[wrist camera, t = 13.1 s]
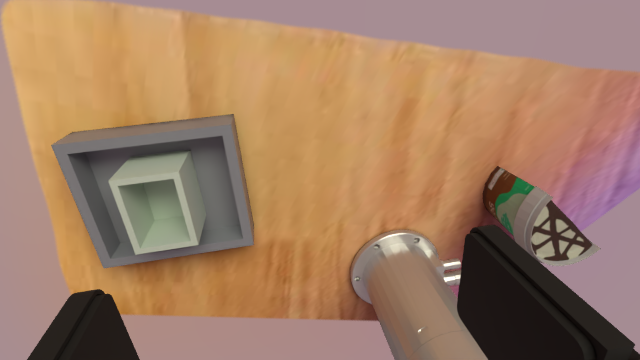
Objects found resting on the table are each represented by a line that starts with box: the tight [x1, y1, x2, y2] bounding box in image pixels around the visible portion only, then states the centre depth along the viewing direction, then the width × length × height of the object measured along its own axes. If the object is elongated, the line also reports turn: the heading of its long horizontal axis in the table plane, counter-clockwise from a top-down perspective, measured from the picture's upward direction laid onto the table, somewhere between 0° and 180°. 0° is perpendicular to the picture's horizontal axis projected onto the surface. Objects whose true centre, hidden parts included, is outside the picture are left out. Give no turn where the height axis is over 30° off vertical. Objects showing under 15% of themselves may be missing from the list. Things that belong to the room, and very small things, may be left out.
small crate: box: [108, 150, 206, 255], centre depth 35 cm, size 6×8×6 cm
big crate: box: [51, 114, 254, 268], centre depth 37 cm, size 16×14×4 cm
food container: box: [483, 166, 600, 266], centre depth 43 cm, size 12×6×10 cm, turn 49°
